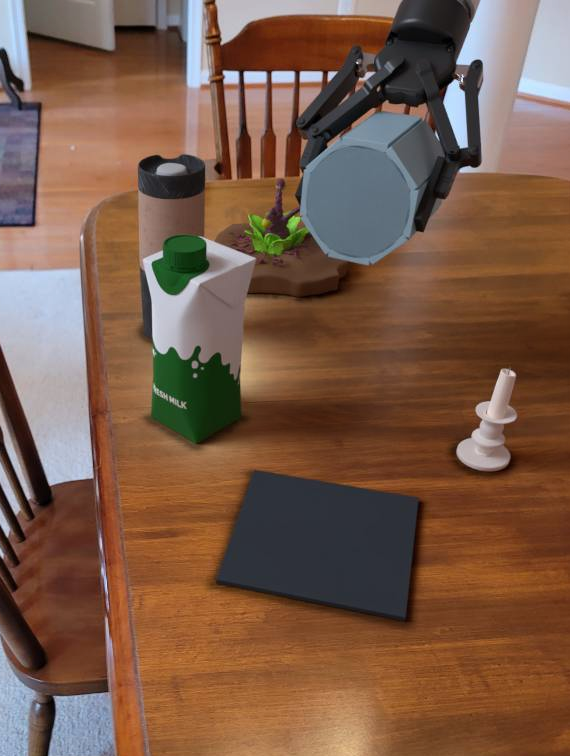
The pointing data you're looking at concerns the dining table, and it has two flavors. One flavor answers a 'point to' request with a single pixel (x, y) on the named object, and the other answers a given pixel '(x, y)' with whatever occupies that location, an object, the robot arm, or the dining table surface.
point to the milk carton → (197, 333)
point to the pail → (370, 187)
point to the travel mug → (167, 210)
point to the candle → (491, 429)
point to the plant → (284, 253)
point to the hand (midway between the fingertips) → (357, 214)
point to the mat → (323, 544)
